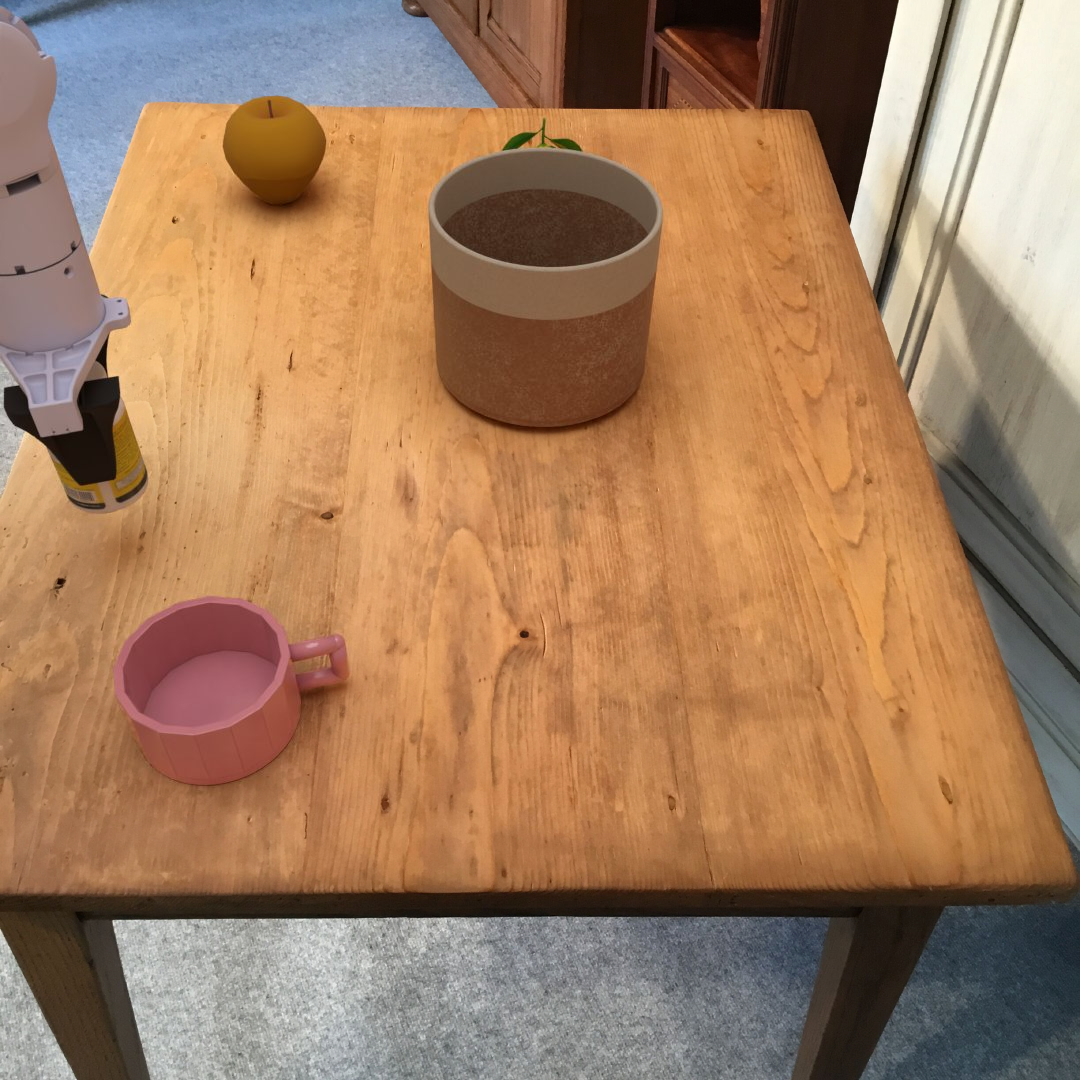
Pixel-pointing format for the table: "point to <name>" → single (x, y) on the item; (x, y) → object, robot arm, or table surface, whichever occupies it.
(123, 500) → the supplement bottle
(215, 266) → the table surface
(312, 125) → the apple
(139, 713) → the pink mug
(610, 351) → the planter
